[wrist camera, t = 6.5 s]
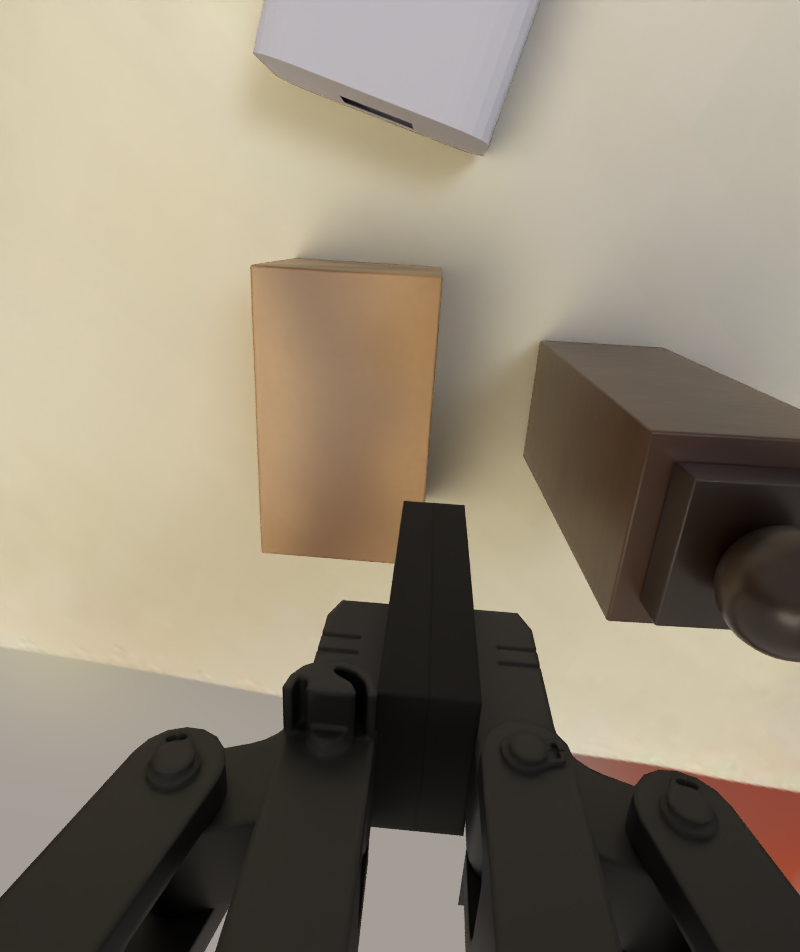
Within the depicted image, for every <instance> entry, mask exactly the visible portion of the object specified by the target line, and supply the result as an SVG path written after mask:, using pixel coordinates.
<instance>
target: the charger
mask: <svg viewBox="0 0 800 952" xmlns="http://www.w3.org/2000/svg"><path fill="white" fill-rule="evenodd" d="M539 2H540V0H264V1H263V6H262V11H261V16H260V21H259V26H258V31H257V36H256V41H255V46H254V51H253V54H254V55H255V56H256V57H257V58H258V59H259V60H260V61H261V62H262V63H263V64H264V65H265V66H266V67H267V68H268V69H269V70H271V71H272V72H273V73H274V74H275V75H276V76H278V77H279V78H281V79H283V80H285V81H287V82H289V83H292V84H294V85H296V86H298V87H301V88H303V89H305V90H308V91H310V92H313V93H315V94H318V95H320V96H323V97H326V98H328V99H331V100H333V101H336V102H338V103H341V104H344V105H346V106H349V107H351V108H354V109H356V110H359V111H362V112H364V113H367V114H369V115H372V116H374V117H377V118H380V119H382V120H385V121H387V122H390V123H392V124H395V125H398V126H400V127H403V128H405V129H408V130H410V131H413V132H416V133H418V134H421V135H423V136H426V137H428V138H431V139H434V140H436V141H439V142H441V143H444V144H446V145H449V146H452V147H454V148H457V149H460V150H463V151H466V152H469V153H472V154H475V155H480V156H483V155H484V153H485V151H486V149H487V148H488V146H489V143H490V140H491V137H492V134H493V132H494V129H495V126H496V123H497V120H498V118H499V115H500V112H501V109H502V106H503V104H504V101H505V98H506V95H507V92H508V89H509V87H510V84H511V81H512V78H513V75H514V73H515V70H516V67H517V64H518V61H519V59H520V56H521V53H522V50H523V47H524V44H525V42H526V39H527V36H528V33H529V30H530V28H531V25H532V22H533V19H534V16H535V14H536V11H537V8H538V5H539Z"/></svg>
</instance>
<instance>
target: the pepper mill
mask: <svg viewBox="0 0 800 952" xmlns="http://www.w3.org/2000/svg"><path fill="white" fill-rule="evenodd" d="M523 456H524V458H525V460H526V462H527V464H528V466H529V468H530V470H531V472H532V474H533V476H534V478H535V480H536V482H537V484H538V486H539V488H540V490H541V492H542V494H543V496H544V498H545V500H546V502H547V504H548V506H549V508H550V509H551V511H552V513H553V515H554V517H555V519H556V521H557V523H558V525H559V527H560V529H561V531H562V533H563V535H564V537H565V539H566V541H567V543H568V545H569V547H570V549H571V551H572V553H573V555H574V557H575V559H576V561H577V563H578V564H579V566H580V568H581V570H582V572H583V574H584V576H585V578H586V580H587V582H588V584H589V586H590V588H591V590H592V592H593V594H594V596H595V598H596V600H597V602H598V604H599V606H600V608H601V610H602V612H603V614H604V616H605V617H606V619H607V620H608V621H621V622H639V623H654V624H655V625H659V626H677V627H694V628H712V629H730V630H732V631H733V632H734V633H735V634H736V635H737V637H739V638H740V639H741V640H742V641H744V642H745V643H746V644H748V645H749V646H751V647H752V648H754V649H755V650H757V651H759V652H761V653H763V654H765V655H768V656H771V657H774V658H777V659H781V660H786V661H793V662H800V409H798V408H796V407H794V406H792V405H789V404H787V403H785V402H783V401H780V400H778V399H776V398H774V397H771V396H769V395H767V394H765V393H763V392H760V391H758V390H756V389H754V388H751V387H749V386H747V385H745V384H743V383H740V382H738V381H736V380H734V379H731V378H729V377H727V376H725V375H722V374H720V373H718V372H716V371H714V370H711V369H709V368H707V367H705V366H702V365H700V364H698V363H696V362H693V361H691V360H689V359H687V358H685V357H682V356H680V355H678V354H676V353H673V352H671V351H669V350H667V349H665V348H657V347H640V346H624V345H607V344H590V343H574V342H557V341H541V342H540V346H539V353H538V360H537V367H536V374H535V380H534V387H533V394H532V401H531V408H530V415H529V421H528V428H527V435H526V442H525V449H524V455H523Z"/></svg>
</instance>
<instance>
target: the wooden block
mask: <svg viewBox="0 0 800 952" xmlns="http://www.w3.org/2000/svg"><path fill="white" fill-rule="evenodd" d="M250 269H251V294H252V320H253V345H254V371H255V396H256V422H257V447H258V473H259V498H260V523H261V549H262V552H263V553H274V554H286V555H298V556H310V557H322V558H335V559H347V560H359V561H371V562H383V563H395V559H396V551H397V544H398V537H399V530H400V523H401V516H402V508H403V501H414V502H425V490H426V478H427V465H428V453H429V440H430V428H431V415H432V403H433V390H434V378H435V366H436V353H437V341H438V328H439V316H440V303H441V291H442V268H441V267H428V266H412V265H396V264H380V263H365V262H349V261H333V260H317V259H301V258H293V259H287V260H280V261H274V262H267V263H260V264H254V265H251V267H250Z"/></svg>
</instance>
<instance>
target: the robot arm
mask: <svg viewBox="0 0 800 952" xmlns="http://www.w3.org/2000/svg"><path fill="white" fill-rule="evenodd" d="M283 720H284V721H283V722H284V729H283V730H282V731H280V732H279V733H278V734H276V735H274V736H271V737H269V738H268V739H265V740H262V741H258V742H255V743H251V744H246V745H240V746H235V747H229V748H224V747H223V746H222V744H221V743H220V741H219V739H218V738H217V737H216V736H214V735H213V734H211V733H209V732H207V731H206V730H203V729H197V728H189V727H186V728H179V729H174V730H167V731H165V732H163V733H161V734H159V735H156V736H154V737H152V738H150V739H148V740H147V741H146V742H145V743H143V744H142V745H141V746H140V747H138V748H137V749H136V750H135V751H134V752H133V753H132V754H131V755H130V756H129V757H128V758H127V759H126V761H124V763H123V764H122V765H121V766H120V767H119V768H118V769H117V770H116V771H115V773H113V775H112V776H111V777H110V778H109V779H108V780H107V781H106V782H105V783H104V784H103V786H102V787H101V788H100V789H99V790H98V791H97V792H96V793H95V794H94V795H93V797H92V798H91V799H90V800H89V801H88V802H87V803H86V804H85V805H84V806H83V808H82V809H81V810H80V811H79V812H78V813H77V814H76V815H75V816H74V817H73V818H72V820H71V821H70V822H69V823H68V824H67V825H66V826H65V827H64V828H63V829H62V831H61V832H60V833H59V834H58V835H57V836H56V837H55V838H54V839H53V840H52V842H51V843H50V844H49V845H48V846H47V847H46V848H45V849H44V850H43V851H42V853H41V854H40V855H39V856H38V857H37V858H36V859H35V860H34V861H33V862H32V863H31V865H30V866H29V867H28V868H27V869H26V870H25V871H24V872H23V873H22V874H21V876H20V877H19V878H18V879H17V880H16V881H15V882H14V883H13V884H12V885H11V887H10V888H9V889H8V890H7V891H6V892H5V893H4V894H3V895H2V896H1V897H0V952H204V951H205V949H206V948H207V946H208V944H209V942H210V941H211V938H212V937H213V935H214V933H215V931H216V930H217V928H218V926H219V924H220V922H221V921H222V918H223V917H224V915H225V913H226V912H227V910H228V912H227V915H226V919H225V922H224V925H223V928H222V931H221V934H220V938H219V941H218V945H217V947H216V951H215V952H358V945H359V936H360V927H361V918H362V909H363V901H364V892H365V882H366V874H367V866H368V849H369V836H370V827H379V828H389V829H399V830H409V831H420V832H430V833H440V834H450V835H460V836H463V834H464V827H465V824H466V847H467V849H466V855H465V862H464V869H463V876H462V882H461V889H460V896H459V903H458V905H464V914H465V915H464V916H465V947H466V952H800V895H799V894H798V893H797V891H796V890H795V889H794V887H793V886H792V885H791V883H790V882H789V881H788V880H787V878H786V877H785V876H784V874H783V873H782V872H781V870H780V869H779V868H778V866H777V865H776V864H775V863H774V861H773V860H772V859H771V857H770V856H769V855H768V854H767V852H766V851H765V849H764V848H763V847H762V845H761V844H760V843H759V842H758V840H757V839H756V838H755V836H754V835H753V834H752V832H751V831H750V830H749V828H748V827H747V826H746V825H745V823H744V822H743V821H742V819H741V818H740V817H739V816H738V814H737V813H736V811H735V810H734V809H733V808H732V806H731V805H730V804H729V803H728V802H727V801H726V800H725V799H724V798H723V797H722V796H721V795H720V794H719V793H718V792H717V791H716V790H714V789H713V788H711V787H710V786H708V785H706V784H705V783H703V782H702V781H700V780H699V779H697V778H695V777H692V776H689V775H686V774H683V773H681V772H678V771H667V770H657V771H654V772H651V773H648V774H645V775H643V777H642V778H641V779H640V780H639V782H638V783H637V784H636V785H635V786H633V785H630V784H627V783H625V782H622V781H619V780H616V779H614V778H611V777H608V776H606V775H603V774H601V773H599V772H596V771H594V770H592V769H590V768H588V767H587V766H585V765H584V764H582V763H581V762H579V761H578V760H576V759H575V758H574V757H573V756H572V754H571V752H570V749H569V747H568V745H567V744H566V743H565V742H564V741H563V740H562V739H561V738H560V737H559V736H558V735H557V734H556V731H555V728H554V724H553V720H552V716H551V711H550V707H549V703H548V698H547V694H546V690H545V685H544V681H543V677H542V673H541V669H540V664H539V660H538V655H537V653H536V647H535V642H534V638H533V634H532V630H531V629H530V628H529V626H528V625H527V624H526V623H525V622H524V620H523V619H522V618H521V617H520V616H519V614H518V613H508V612H496V611H484V610H474V606H473V595H472V584H471V573H470V562H469V551H468V539H467V528H466V517H465V506H464V505H453V504H440V503H427V502H414V501H403V508H402V516H401V523H400V530H399V537H398V544H397V551H396V559H395V566H394V573H393V580H392V587H391V594H390V602H389V604H381V603H370V602H358V601H346V600H342V601H341V602H340V603H339V604H338V605H337V606H336V607H335V608H334V609H333V610H332V611H331V612H330V613H329V614H328V616H327V619H326V623H325V626H324V629H323V634H322V636H321V640H320V643H319V646H318V651H317V653H316V656H315V660H314V663H311V664H308V665H305V666H303V667H301V668H300V669H298V670H297V671H296V672H294V673H293V674H291V675H290V677H289V678H288V680H287V681H286V683H285V684H284V686H283ZM229 905H230V906H229ZM228 908H229V909H228Z"/></svg>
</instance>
